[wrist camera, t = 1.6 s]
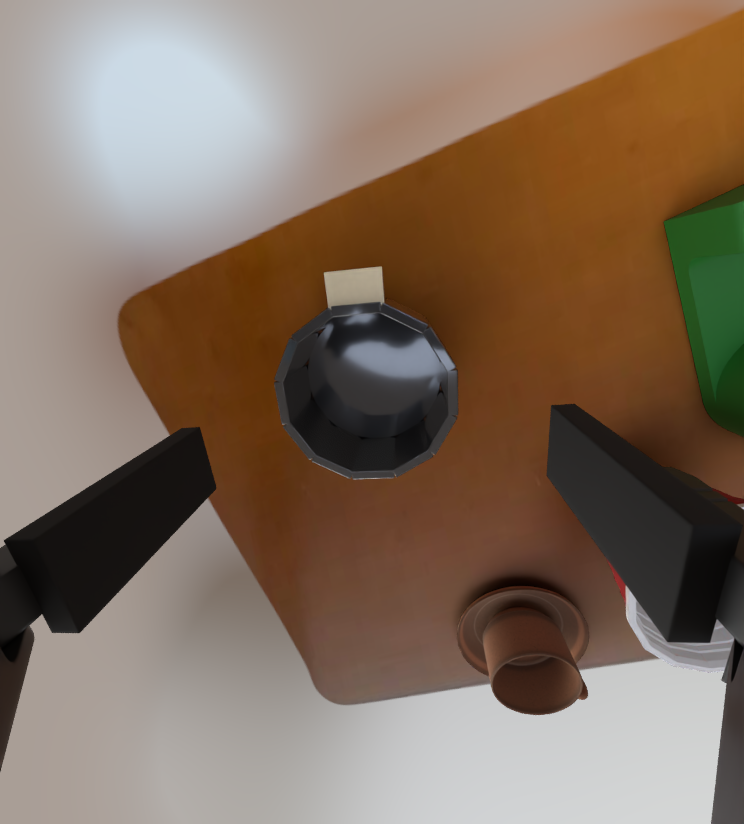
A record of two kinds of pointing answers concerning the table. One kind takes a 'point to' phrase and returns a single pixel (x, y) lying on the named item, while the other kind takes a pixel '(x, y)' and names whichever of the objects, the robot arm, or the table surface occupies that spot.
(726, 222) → the green bracket
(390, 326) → the cooking pot
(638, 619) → the plastic cup
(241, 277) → the table surface
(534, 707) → the cup and saucer
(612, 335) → the table surface
